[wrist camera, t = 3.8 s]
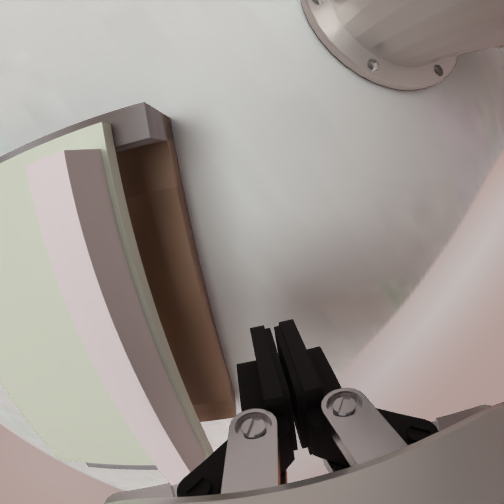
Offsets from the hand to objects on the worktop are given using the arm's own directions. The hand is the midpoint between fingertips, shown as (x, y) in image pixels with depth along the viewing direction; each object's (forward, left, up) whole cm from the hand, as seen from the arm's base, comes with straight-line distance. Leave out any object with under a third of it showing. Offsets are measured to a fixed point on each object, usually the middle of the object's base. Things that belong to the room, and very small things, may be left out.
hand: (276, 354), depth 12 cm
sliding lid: (+11, 0, -3) cm, 11 cm away
